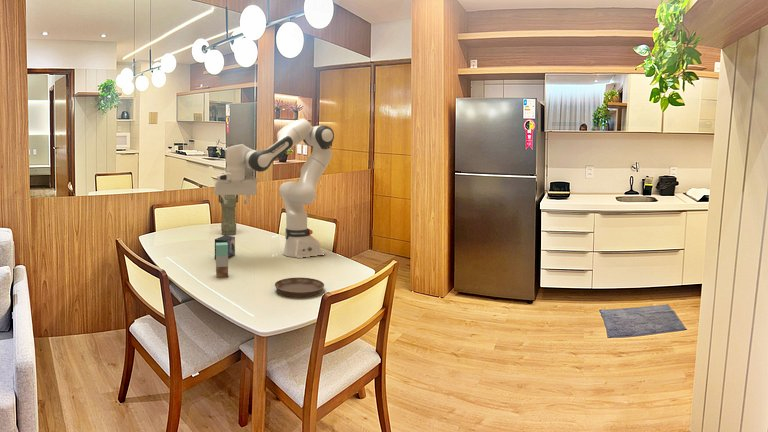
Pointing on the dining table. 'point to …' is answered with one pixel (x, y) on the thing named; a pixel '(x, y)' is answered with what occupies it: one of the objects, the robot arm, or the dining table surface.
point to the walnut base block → (221, 272)
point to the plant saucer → (299, 287)
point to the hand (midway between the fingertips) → (235, 203)
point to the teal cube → (222, 249)
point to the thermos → (228, 215)
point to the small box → (231, 244)
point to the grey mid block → (221, 261)
